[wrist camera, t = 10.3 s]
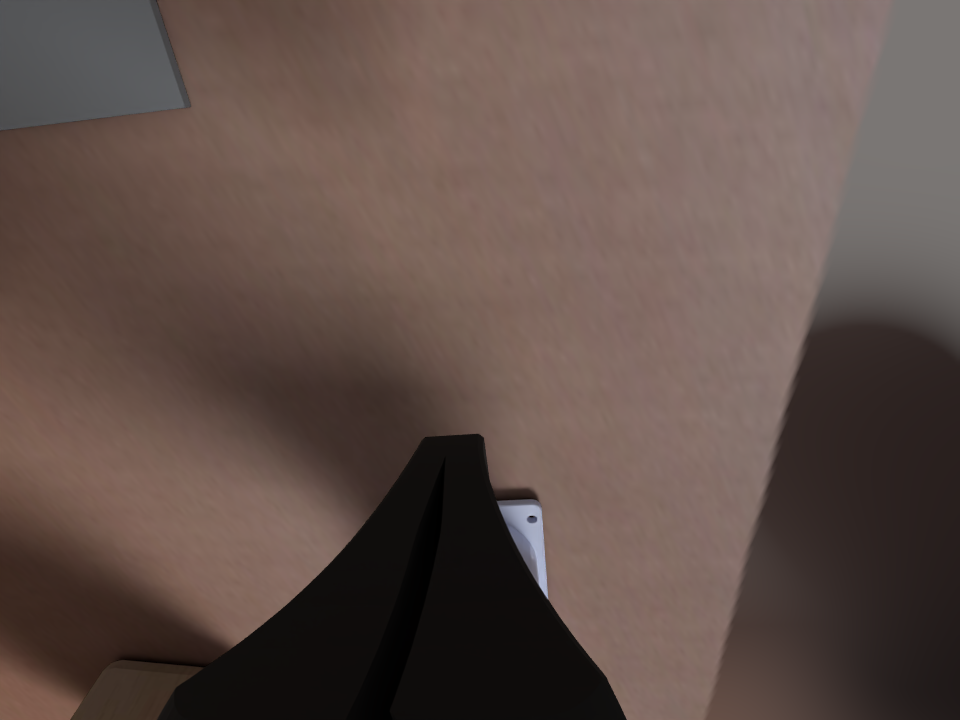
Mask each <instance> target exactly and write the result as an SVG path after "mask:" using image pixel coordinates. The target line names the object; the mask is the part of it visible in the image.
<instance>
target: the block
mask: <svg viewBox="0 0 960 720" xmlns="http://www.w3.org/2000/svg"><path fill="white" fill-rule="evenodd" d="M203 668H204V667H193V666H182V665H171V664H161V663H150V662H139V661H128V660H120V661H116V662H112V663H111V664H110V665H108V666H107V667H106V668H105V669H104V670H103V671H102V673H101V674H100V676H99V677H98V679H97V680H96V682H95V683H94V685H93V686H92V688H91V689H90V691H89V692H88V694H87V695H86V697H85V698H84V700H83V701H82V703H81V704H80V706H79V707H78V709H77V710H76V712H75V713H74V715H73V716H72V718H71V719H70V720H157V719H158V717H159V715H160V713H161V711H162V710H163V708H164V706H165V705H166V703H167V701H168V700H169V698H170V696H171V695H172V693H173V691H174V690H175V688H176V687H177V686H179V685H180V684H182V683H183V682H185V681H186V680H188V679H189V678H191V677H192V676H193V675H195V674H196V673H198V672H199V671H201V670H202V669H203Z"/></svg>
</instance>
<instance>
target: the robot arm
mask: <svg viewBox="0 0 960 720" xmlns="http://www.w3.org/2000/svg"><path fill="white" fill-rule="evenodd" d="M529 516H535V517H532V518H531V517H529ZM157 720H627V719H626V717H625V715H624V713H623V711H622V709H621V706H620V704H619V702H618V700H617V698H616V696H615V694H614V692H613V690H612V688H611V686H610V684H609V682H608V680H607V678H606V676H605V675H604V673H603V672H602V671H601V670H600V669H599V667H598V666H597V665H596V664H595V663H594V661H593V660H592V659H591V658H590V657H589V655H588V654H587V653H586V651H585V650H584V649H583V648H582V646H581V645H580V644H579V643H578V641H577V640H576V639H575V637H574V636H573V635H572V633H571V632H570V631H569V629H568V628H567V626H566V625H565V624H564V622H563V621H562V620H561V618H560V617H559V615H558V614H557V612H556V611H555V609H554V608H553V606H552V605H551V603H550V602H549V600H548V591H547V577H546V563H545V549H544V536H543V522H542V509H541V504H540V503H539V502H538V501H537V500H534V499H524V500H505V501H497V500H496V498H495V495H494V492H493V489H492V486H491V483H490V480H489V473H488V465H487V458H486V450H485V443H484V438H483V437H482V436H481V435H479V434H468V435H451V436H435V437H425V438H424V439H423V440H422V441H421V443H420V445H419V446H418V448H417V450H416V451H415V453H414V454H413V456H412V458H411V459H410V461H409V462H408V464H407V466H406V467H405V469H404V470H403V472H402V473H401V475H400V476H399V478H398V479H397V481H396V482H395V484H394V485H393V486H392V488H391V489H390V491H389V492H388V494H387V495H386V496H385V498H384V499H383V501H382V502H381V503H380V505H379V506H378V507H377V509H376V510H375V511H374V512H373V514H372V515H371V516H370V517H369V519H368V520H367V521H366V523H365V524H364V525H363V526H362V528H361V529H360V530H359V531H358V533H357V534H356V535H355V536H354V537H353V538H352V540H351V541H350V542H349V543H348V544H347V545H346V547H345V548H344V549H343V550H342V551H341V552H340V553H339V554H338V555H337V556H336V557H335V558H334V560H333V561H332V562H331V563H330V564H329V565H328V566H327V567H326V568H325V569H324V570H323V571H322V572H321V573H320V574H319V575H318V576H317V577H316V578H315V579H314V580H313V581H312V582H311V583H310V584H309V585H308V586H307V587H305V588H304V589H303V590H302V591H301V592H300V593H299V594H298V595H297V596H296V597H295V598H294V599H292V600H291V601H290V602H289V603H288V604H287V605H286V606H285V607H283V608H282V609H281V610H280V611H279V612H278V613H276V614H275V615H274V616H273V617H271V618H270V619H269V620H268V621H267V622H265V623H264V624H263V625H262V626H260V627H259V628H258V629H257V630H255V631H254V632H253V633H252V634H250V635H249V636H248V637H246V638H245V639H244V640H243V641H241V642H240V643H239V644H237V645H236V646H235V647H233V648H232V649H230V650H229V651H228V652H226V653H225V654H223V655H222V656H221V657H219V658H218V659H216V660H215V661H213V662H212V663H211V664H209V665H208V666H206V667H205V668H203V669H202V670H201V671H199V672H198V673H196V674H195V675H193V676H192V677H191V678H189V679H188V680H186V681H185V682H183V683H182V684H180V685H179V686H177V687H176V688H175V690H174V691H173V693H172V695H171V696H170V698H169V700H168V701H167V703H166V705H165V706H164V708H163V710H162V711H161V713H160V715H159V717H158V719H157Z"/></svg>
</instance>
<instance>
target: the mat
mask: <svg viewBox="0 0 960 720" xmlns="http://www.w3.org/2000/svg"><path fill="white" fill-rule="evenodd" d="M187 107H191V105H190V102H189V99H188V96H187V92H186V89H185V86H184V83H183V80H182V77H181V74H180V71H179V68H178V65H177V62H176V59H175V56H174V53H173V50H172V47H171V44H170V41H169V38H168V35H167V32H166V29H165V26H164V23H163V20H162V17H161V14H160V11H159V8H158V5H157V2H156V0H0V131H1V130H9V129H17V128H25V127H33V126H41V125H49V124H57V123H65V122H73V121H82V120H90V119H98V118H106V117H114V116H122V115H130V114H138V113H146V112H154V111H162V110H170V109H178V108H187Z"/></svg>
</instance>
